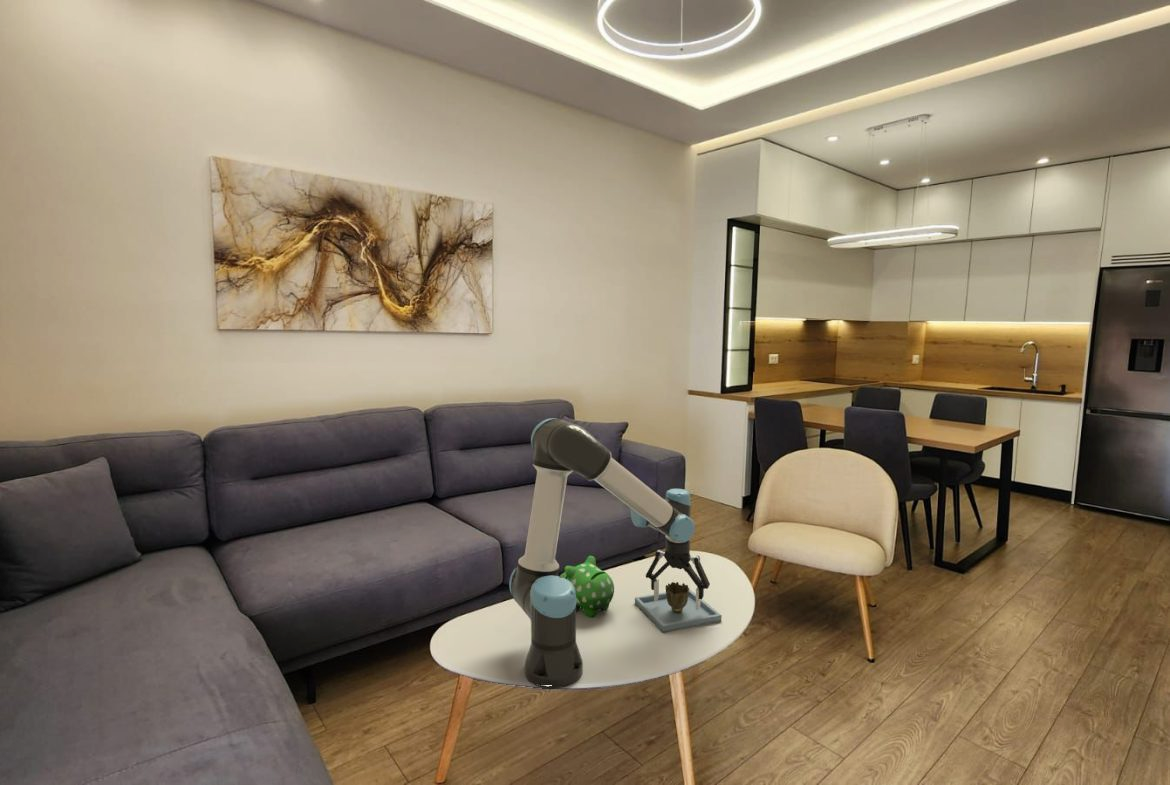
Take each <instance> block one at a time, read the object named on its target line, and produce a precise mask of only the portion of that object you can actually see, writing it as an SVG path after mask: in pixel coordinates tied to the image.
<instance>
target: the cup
mask: <svg viewBox="0 0 1170 785" xmlns="http://www.w3.org/2000/svg"><path fill="white" fill-rule="evenodd" d="M689 589H690V587H689V585H688V584H685V582H683V583H682V584H680V582H679V581H676V582H674V581H672V582H671V583H667V584H665V592H666V597H667V602H668V604H669V605H670V606H671V609H672V611H673V612H675V613H680V612H682V611H683V607H685V606H686V604H687V601H688V594H689Z"/></svg>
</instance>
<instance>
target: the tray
mask: <svg viewBox="0 0 1170 785" xmlns="http://www.w3.org/2000/svg"><path fill="white" fill-rule="evenodd" d="M634 604H635V605H636V607H638V608H639V609H640V611H642V612H643V614H644V615H645V616H647V618H648V619H649V620H650V621H651V622H652V623H654V625H655V626H656V627H657V628H658V629H659V630H660V631H661V632H662V633H668V632H673V631H678V630H683V629H689V628H690V629H691V628H694V627H698V626H699V627H700V626H705V625H710V624H716V623H720V622H722V614H721V613H720V612H718V611H717V610H716V609H715V608H713V607H712V606H711V605H709V604H708V603H707V602H706V601H705V600H703V598H702V599H700V608H699V609H698V610H696V592H693V591H692V590H691V589H690V588H689V594H688V601H687V604H686V606H685V607H683V611H682V612H680V613H675V612H673V611H672V609H671V606H670V605H669V604H668V602H667V597H666V591H665V592H659V598H658V600H657V601H654V593H653V594H650V595H649V594H648V595H642V596H637V597H634Z"/></svg>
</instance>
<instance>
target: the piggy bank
mask: <svg viewBox="0 0 1170 785" xmlns="http://www.w3.org/2000/svg"><path fill="white" fill-rule="evenodd" d="M596 564H597V562H596V558H595V556H592V555H589V556H588V557H587V558H586V560H585V561H584V562H583V563H580V564H578V565H575V566H573V565H566V566H565V567H564V572H563V573H561V574H560V575H559V577H560V578H565V579H567V580H568V581H570V582H571V583H572V584H573V586H574V588H575V594H576V612H577V611H579V610H580V609H582V611H583V613H584V615H585V616H586V617H589V618H595V617H597V616H598V615H599V613H600V612H606V611H608V609H609V607H610V603H611V602H612V600H613V598H614V594H615V585H614V582H613V579H612V578H611V576H610V574H608V572H606V571H604V570H602V569H601V568H599V567H598V566H597V565H596ZM599 611H600V612H599Z"/></svg>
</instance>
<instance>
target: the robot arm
mask: <svg viewBox="0 0 1170 785" xmlns="http://www.w3.org/2000/svg"><path fill="white" fill-rule="evenodd" d="M530 443H531V447H532V450H533V451H534V452H533V453H534V454H533V460H532V461H533V462H532V466H533V467H534V469H535V470H536V477H535V485H534V491H533V496H532V505H531V512H530V518H529V526H528V531H527V537H526V543H525V550H524V554H523V556H521V557H520V558H519V559H518V561H517V566H516V567H515V568H514V569H513V571H512V572H511V574H510V578H509V591H510V593H511V596H512V598H513V600H514V602H515V603H516V604H517V605H518V606H519V607H520V609H521V610H522V611H523V613H525V615H526V616H527V617H528V618H529V619H530V637H531V638H530V639H531V641H530V646H529V649H528V651H527V656H526V658H525V662H524V675H525V677H526V679H527V680H528V681H529V682H530V683H532V684H533V685H536V686H538V685H540V686H539V687H542V688H544V687H543V686H541V685H552V686H549V687H553V688H554V687H556V688H562V686H563V687H566V686H565V685H567V686H569V685H571V684H574V683H575V682H577V681H578V680H579V679H580V678H581V677H582V675H583V668H584V667H583V664H584V663H583V658H582V656H581V652H580V650H579V649H580V648H579V646H578V644H577V611H576V594H575V588H574V586H573V584H572V583H571V582H570V581H568V580H567V579H565V578H560V575H559V570H560V564H559V563H558V562H557V561H558V560H556V554H557V545H558V542H559V541H558V540H559V534H560V528H561V522H562V515H563V507H564V501H565V494H566V490H567V489H566V488H567V480H568V476H569V475H570V474H572V473H573V472H575V473H576V474H578V475H580V476H582V477H583V478H584V479H586V480H587V481H589V482H591V481H595V482H596V483H597V484H598V485H600V486H601V487H602V488H603V489H605V490H607V491H608V492H609V493H611V494H612V496H614V497H616V499H618V500H620V501H621V503H623V504H625V505H627V506H628V508H630V519H631V521H632V524H633V525H634V526H635V527H637V528H647V527H650V528H652V529H654V530H655V531H657V532H660V533H662V534H663V535H665V551H663V550H662V549H657V551H656V552H655V555H654V559H653V561H652V562H651V565H650V566H649V568H648V570H647V572H646V573H645V578H646V579H650V588H651V591H653V594H654V601H657V600H658V598H659V593H660V591H659V590H660V579H659V578H658V577H659V576H660V575H661V574H662V573H663V572H664V571H665V570H666V569H667V568H668V567H670V568H672V569H678V570H684V572H685V573H686V574H687V575H688V576H689V577H690V578H691V580H692V581H693V583H694V584H695V585H696V589H695V594H696V610H698V609H699V608H700V599H702V600H703V598H704V595H705V594H704V591H705V589H708V588H709V587H710V581H709V578H708V577H707V574H706V572H705V570H704V567H703V565H702V563H701V557H700V555H696V556H692V555H691V554H690V553H691V552H690V550H691V547H690V545H691V541H690V540H691V539H692V537H693V535H694V534H695V527H696V526H695V522H694V520H693V519H692V518H691V507H692V504H691V494H690V492H689V491H688V490H687V489H683V488H669V490H666V492H665V497H661V495H659V494H658V493H657V492H655V491H654V490H653V489H651V488H650V487H649V486H648V485H646V484H645V483H644V482H643V481H642V480H640V479H639V478H638V477H637V476H635V475H634V474H633V473H632V472H630V471H629V470H628V469H627V468H625V466H623V465H622V464H620V462H618V461H616V460H615V459H614V458H613V457H612V452H611V451H610V450H609V449H608V448H607V447H606V446H604V444H602V443H601V442H599V440H597V438H595V437H594V436H593V435H592V434H591V433H590V432H589V431H588V430H587V429H585V428H584V427H583V426H580V425H578V424H576V423H572V422H570V421H567V420H566V419H565V420H564V419H560V418H553V417H552V418H551V417H550V418H546V419H544V420H542V421H541V422H539V423H537V425H536V426H535V427H534V429H533V430H532V433H531V435H530ZM663 557H664V559H665V560H666V561H665V563H664V564H663V565H662V566H661V567H660V568H659V569H658V570H657V571H656V572H655V573H654V570H655V569H656V567H657V565H658V563H659V561H660V559H661V558H663ZM690 562H692V564H693V565H694V568H695V569H696V571H697V572H696V571H695V570H694V568H693V567H692V565H691V563H690ZM653 573H654V574H653ZM537 684H538V685H537ZM553 688H552V689H553ZM554 689H555V688H554Z"/></svg>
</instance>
